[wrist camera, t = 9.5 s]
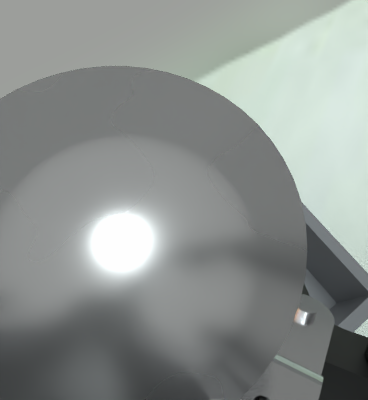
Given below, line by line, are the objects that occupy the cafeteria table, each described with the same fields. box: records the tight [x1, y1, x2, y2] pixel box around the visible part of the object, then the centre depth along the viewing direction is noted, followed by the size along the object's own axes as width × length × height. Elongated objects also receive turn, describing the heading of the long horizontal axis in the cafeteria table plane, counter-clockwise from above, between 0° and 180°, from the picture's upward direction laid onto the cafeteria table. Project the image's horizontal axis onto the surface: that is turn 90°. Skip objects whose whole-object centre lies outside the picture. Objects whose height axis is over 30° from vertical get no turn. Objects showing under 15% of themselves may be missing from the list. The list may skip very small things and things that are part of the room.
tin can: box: [0, 66, 307, 400], centre depth 11 cm, size 6×6×13 cm
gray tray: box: [301, 202, 368, 332], centre depth 23 cm, size 24×16×6 cm, turn 127°
